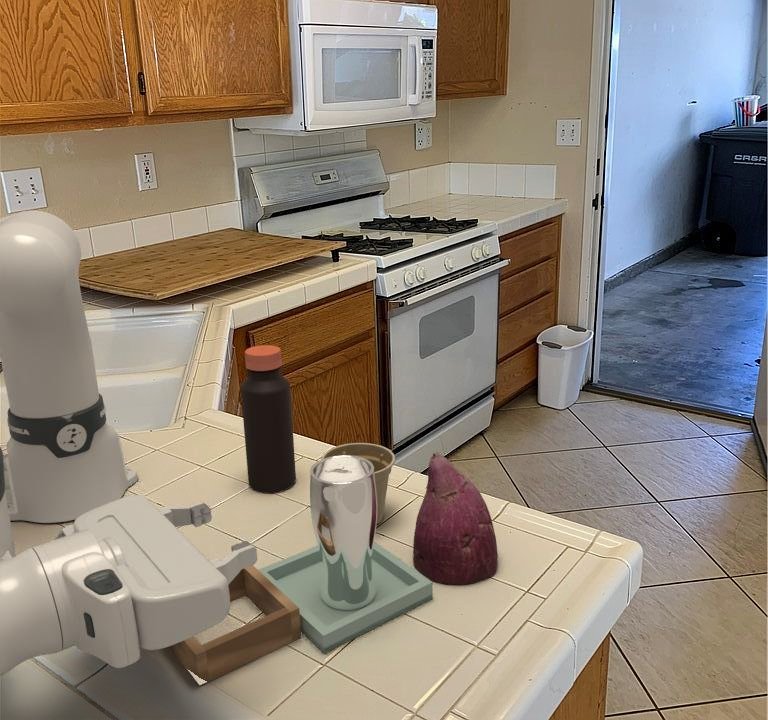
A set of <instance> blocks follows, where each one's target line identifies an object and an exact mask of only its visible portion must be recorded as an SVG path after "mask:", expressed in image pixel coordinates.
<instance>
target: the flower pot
mask: <svg viewBox="0 0 768 720" xmlns="http://www.w3.org/2000/svg"><path fill="white" fill-rule="evenodd" d="M338 455H352V456H358V457H362V458H365V459H367V460H369V461H370V462H371V463H372V464H373V466H374V476H375V483H376V492H377V524H378V523H379V524H380V523H381V522H382V521H383V519H384V516H385V515H384V513H385V508H386V507H385V506H386V505H385V504H386V499H387V491H388V483H389V476H390V475H391V473H392V467H393V466H394V465H395V462H396V455H395V454H394V452H393V451H392V450H391V449H389V448H387V447H385V446H383V445H380V444H376V443H375V444H374V443H368V442H355V443H354V442H351V443H344V444H340V445H337V446H334V447H332V448H330V449H328V450H327V451H325V452H324V453H323V455H322V456H321V459H320V460H322V459H325V458H328V457H332V456H338ZM377 524H376V525H377ZM379 524H378V525H379Z"/></svg>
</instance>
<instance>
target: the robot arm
mask: <svg viewBox="0 0 768 720" xmlns="http://www.w3.org/2000/svg"><path fill="white" fill-rule="evenodd" d="M81 249H82V248H81V244H80V241H79V239H78V237H77V235H76V233H75V232H74V230H73V229H72V227H71V226H70V225H69V224H68V223H66V221H64V220H63V219H62V218H60V217H58V216H57V215H54V214H53V213H49V212H46V211H41V210H24V211H20V212H16V213H13V214H10V215H7V216H4V217H1V218H0V361H1V367H2V373H3V377H4V384H5V388H6V393H7V394H6V395H7V401H8V405H9V408H8V410H7V419H6V420H7V421H6V422H7V427H8V430H9V435H10V438H9V440H8V441H7V443H6V452H7V453H6V454H4V453H3V450H2V448H1V446H0V677H2V676H4V675H6V674H7V673H9V672H11V671H12V670H13V669H15V668H16V667H17V666H19V665H20V664H22V663H24V662H26V661H28V660H31V659H33V658H36V657H41V656H45V655H46V656H47V655H55V654H57V653H60V652H63V651H64V650H65V651H66V650H67V649H70V648H72V647H74V646H75V647H76V648H77V649H78V650H80V651H83V652H86V653H88V654H90V655H92V656H94V657H96V658H98V659H99V660H101V661H103V662H105V663H106V664H108V665H110V666H111V667H113V668H115V669H122V668H126V667H127V666H131V665H133V664H135V663H136V662H137V661H139V660H140V658H141V649H144V650H147V651H157V650H163V649H165V648H168V647H169V646H172V645H174V644H177V643H179V642H182V641H184V640H186V639H189V638H191V637H193V636H194V637H196V636H198V635H200V634H202V633H203V632H206V631H208V630H210V629H212V628H215V627H216V626H217V625H219V624H221V623H222V622H223V621H224V620H225V619H226V617H227V616H228V614H229V613H230V611H231V601H230V595H229V587H228V585H229V583H230V582H231V581H232V580H233V579H234V578H235V577H236V576H237V574H238V573H239V572H240V571H241V570H242V569H244V568H247V567H249V566H251V565H253V566H254V565H255V564H256V563H257V561H258V553H257V552H258V551H257V547H255V546H254V545H253V544H252V543H250V541H247V540H244V541H241V543H235V544H233V545H231V546H230V550H231V552H230V553H229V554H228V555H226V556H225V557H223V559H222V558H220V557H215V558H213V559H211V560H209V558H207V557H206V556H205V555H204V554H203V553H202V552H201V551H200V550H199V549H198V548H197V547H196V546H195V544H193V543H192V542H191V541H190V540H189V539H188V538H187V537H186V536H185V535H184V533H182V532H181V531H180V530H179V529H178V528H177V527H186V526H194V527H195V528H198V527H200V526H203V525H205V524H206V525H207V524H209V523H210V522H212V518H213V516H212V510H211V507H210V506H208V505H207V503H205V501H199V502H195V503H192V504H189V505H165V506H162V507H160V508H158V507H156V506H155V505H154V504H153V502H151V500H149V499H148V497H146V496H145V495H143V494H132V495H131V494H130V495H127V496H123V495H124V494H125V492H126V490H127V489H128V488H129V487H130V486H132V485H133V484H135V483H136V482H137V481H138V480H139V475H138V472H137V471H136V470H134V469H133V468H130V467H129V466H126V462H125V457H124V451H123V447H122V446H123V445H122V442H121V438H120V433H119V430H118V429H115V428H114V426H111V425H109V424H107V415H106V411H107V408H106V404H105V403H104V399H103V395H102V394H101V393H100V392H99V386H98V379H97V373H96V365H95V357H94V351H93V345H92V340H91V339H92V338H91V336H90V332H89V327H88V322H87V317H86V313H85V309H84V307H85V306H84V303H83V298H82V297H83V296H82V292H81V286H80V279H79V277H80V276H79V274H80V273H79V272H80V271H79V270H80V265H81V259H82V251H81ZM11 521H25V522H26V521H27V522H31V523H32V522H33V523H40V524H41V523H42V524H43V523H44V524H51V523H52V524H53V523H62V522H69V521H70V522H71V521H74V522H73V523H72V524H70V525H67V526H65V527H63V528H62V530H61V531H60V532H59V533H58V535H57V536H55V538H54V540H53V539H52V540H51V541H47V542H44V543H41V544H39V545H35V546H32V547H29V548H27V549H25V550H22V551H21V552H18V554H16V550H15V544H14V535H13V534H14V533H13V529H12V523H11ZM169 648H170V647H169Z"/></svg>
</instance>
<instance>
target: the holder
mask: <svg viewBox="0 0 768 720" xmlns="http://www.w3.org/2000/svg"><path fill="white" fill-rule="evenodd" d="M228 587H229V595H230V602H232V601H234V600H235V601H236V600H237V599H239V598H241V597H243V596H246V597H247V598H249V600H251V602H252V603H254V605H256V606H257V608H258V609H259V610H260V611H261V612H262V613H263V614H265V616H263V617H261V618H258V619H256V620H254V621H252V622H251V621H250V622H249V623H248V624H245V625H243V626H241V627H239V628H236V629H233V630H232V631H229V632H226V633H225V634H223V635H220V636H218V637H216V638H214V639H212V640H209V641H207V642H205V643H203V644H201V642H200V641H199V640H198V639H197V638H196V636H193V637H191V638H189V639H186V640H184V641H182V642H179V643H177V644H174V645H172V646H169V648H170V649H171V651H172V652H173V653H174V655H175V656H176V658H177V659H178V661H179V662H180V663H181V664H182V665H183V667H184V668H185V667H186V668H187V669H188V670H190V671H191V672H193V673H194V674H195V675H197V676H198V677H199V678H201V679H203V680H205V681H207V682H208V683H210V682H212V681H215V680H217V679H218V678H220V677H222V676H225V675H227V674H229V673H231V672H233V671H235V670H237V669H239V668H241V667H243V666H245V665H247V664H250V663H251V662H254V661H256V660H257V659H260V658H262V657H264V656H266V655H268V654H270V653H272V652H275V651H276V650H278V649H280V648H283V647H284V646H286V645H289V644H291V643H294V642H295V641H297V640H299V639H301V638H302V632H301V627H300V611H299V607H298V606H296V605H295V604H294V603H293V602H292V601H291V600H290V599H289V598H288V597H287V596H286V595H285V594H283V593H282V592H281V591H280V590H279V589H278V588H277V587H276V586H275V585H274V584H273V583H272V582H271V581H269V580H268V579H267V578H266V577H265V576H264V575H263V574H262V573H261V572H260V571H259V569H257V568H256V567H255V566H254V565H251V566H249V567H247V568H244V569H242V570H241V571H240V572H239V573H238V574H237V576H236V577H235V578H234V579H233V580H232V581H231V582H230V583H229V585H228ZM186 668H185V669H186ZM187 669H186V670H187Z"/></svg>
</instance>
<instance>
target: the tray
mask: <svg viewBox="0 0 768 720" xmlns="http://www.w3.org/2000/svg"><path fill="white" fill-rule="evenodd" d="M258 570H259V571H260V572H261V573H262V574H263V575H264V576H265V577H266V578H267V579H268V580H269V581H271V582H272V583H273V584H274V585H275V586H276V587H277V588H278V589H279V590H280V591H281V592H282V593H283V594H285V595H286V596H287V597H288V598H289V599H290V600H291V601H292V602H293V603H294V604H295V605H296V606H298V607H299V611H300V627H301V634H303V635H304V636H305V637H307V638H308V640H310V641H311V643H312V644H314V645H315V647H317V648H318V649H319V650H320V652H322V653H323V655H324V654H327V653H329V652H331V651H333V650H334V649H336V648H337V649H338V648H339V647H341V646H342V645H344V644H347V643H349V642H350V641H352V640H355V639H356V638H358V637H360V636H362V635H364V634H366V633H368V632H370V631H372V630H375V629H376V628H378V627H380V626H382V625H384V624H385V623H388V622H390V621H392V620H394V619H396V618H397V617H399V616H402V615H403V614H406V613H407V612H409V611H411V610H413V609H415V608H417V607H420V606H421V605H424V604H425V603H427V602H429V601H431V600H433V599H434V598H433V594H434V593H433V590H434V589H433V588H434V587H433V585H434V583H433V582H434V581H432V580H430V579H428V578H427V577H426V576H424V575H423V574H422V573H420V572H419V571H418V570H417V569H415V568H413V567H412V566H410V565H409V564H408V563H405V561H403V560H402V559H400V558H398V557H397V556H396V555H395V554H393V553H391V552H390V551H388V550H387V549H386V548H385V547H383V546H382V545H380V544H378V543H377V542H375V541H374V544H373V551H372V572H373V577H374V581H375V585H376V595H375V598H374V599H373V600H372V601H371V602H370V603H369V604H367V605H366V606H364V607H361V608H358V609H354V610H338V609H334V608H332V607H330V606H328V605H326V604H325V603H324V602H323V600H322V599H321V595H320V590H321V582H322V574H323V567H322V560H321V556H320V552H319V548H318V545H316V546H313V547H311V548H308V549H306V550H302V551H301V552H298V553H296V554H293V555H291V556H289V557H286V558H283V559H281V560H278V561H276V562H274V563H272V564H269V565H266V566H264V567H261V568H259V569H258Z"/></svg>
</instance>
